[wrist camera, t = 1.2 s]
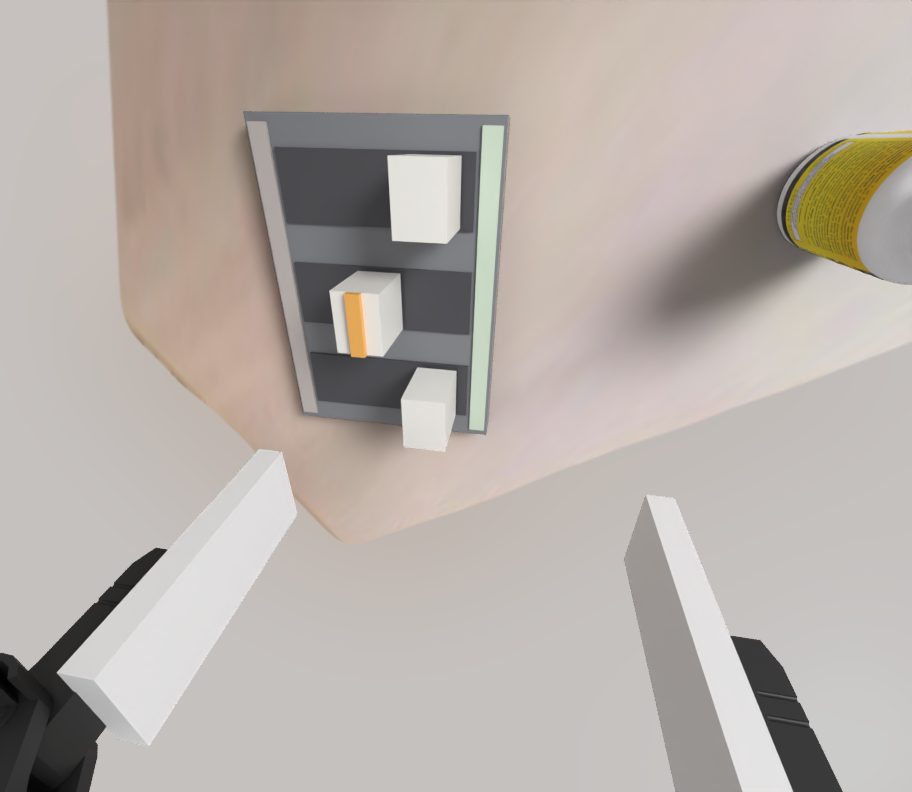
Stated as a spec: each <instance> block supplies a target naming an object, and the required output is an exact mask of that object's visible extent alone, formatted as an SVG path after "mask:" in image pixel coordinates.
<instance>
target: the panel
mask: <svg viewBox="0 0 912 792" xmlns="http://www.w3.org/2000/svg"><path fill="white" fill-rule="evenodd" d="M243 113H244V118H245V123H246V128H247V133H248V138H249V143H250V148H251V153H252V158H253V163H254V168H255V173H256V178H257V183H258V188H259V193H260V198H261V203H262V208H263V213H264V218H265V223H266V228H267V233H268V238H269V243H270V248H271V253H272V258H273V263H274V268H275V273H276V278H277V283H278V288H279V293H280V298H281V303H282V308H283V313H284V318H285V323H286V328H287V333H288V338H289V343H290V348H291V353H292V358H293V363H294V368H295V373H296V378H297V383H298V388H299V393H300V398H301V403H302V408H303V413H304V415H309V416H318V417H328V418H337V419H346V420H355V421H364V422H374V423H383V424H392V425H401V426H402V409H401V398H402V396H403V394H404V392H405V390H406V388H407V386H408V385H409V383H410V381H411V379H412V377H413V375H414V373H415V371H416V369H417V367H419V368H430V369H441V370H452V371H457V375H456V416H455V419H454V423H453V426H452V429H451V431H456V432H466V433H475V434H484V435H486V432H487V426H488V418H489V404H490V390H491V376H492V362H493V348H494V334H495V320H496V306H497V292H498V278H499V265H500V251H501V237H502V223H503V209H504V195H505V181H506V167H507V153H508V139H509V126H510V117H509V115H461V114H390V113H319V112H248V111H243ZM405 154H424V155H462V160H461V203H460V230H459V231H458V232H457V233H456V234H455V235H454V236H453V237H452V238H451V240H450V241H449V242H448V243H447V244H442V243H423V242H404V241H392V230H391V212H390V194H389V176H388V158H387V156H388V155H405ZM357 271H369V272H385V273H400V279H401V300H402V321H403V330H402V331H401V332H400V334H399V335H398V337H397V338H396V339H395V341H394V342H393V344H392V345H391V346H390V348H389V349H388V351H387V352H386V353H385V355H384V356H383V357H381V356H370V355H367V356H366V357H365V358H360V357H351V354H347V353H338V351H337V343H336V336H335V329H334V322H333V314H332V307H331V300H330V292H329V291H330V290H331V289H333V288H334V287H335V286H337V285H338V284H340V283H341V282H342V281H344V280H345V279H347V278H348V277H350V276H351V275H352V274H354V273H355V272H357Z"/></svg>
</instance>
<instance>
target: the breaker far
mask: <svg viewBox="0 0 912 792" xmlns="http://www.w3.org/2000/svg"><path fill="white" fill-rule="evenodd" d="M456 375H457V371H452V370H441V369H430V368H419V367H417V369H416V371H415V373H414V375H413V377H412V379H411V381H410V383H409V385H408V386H407V388H406V390H405V392H404V394H403V396H402V398H401V409H402V427H403V445H404V447H408V448H417V449H425V450H434V451H443V452H445V450H446V447H447V443H448V440H449V436H450V433H451V429H452V426H453V423H454V419H455V416H456Z"/></svg>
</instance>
